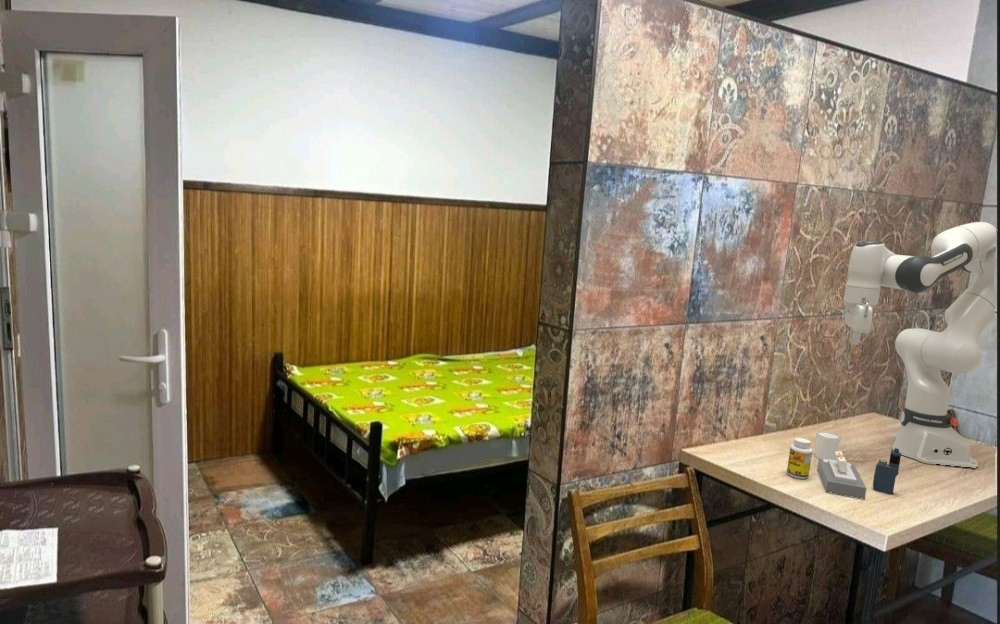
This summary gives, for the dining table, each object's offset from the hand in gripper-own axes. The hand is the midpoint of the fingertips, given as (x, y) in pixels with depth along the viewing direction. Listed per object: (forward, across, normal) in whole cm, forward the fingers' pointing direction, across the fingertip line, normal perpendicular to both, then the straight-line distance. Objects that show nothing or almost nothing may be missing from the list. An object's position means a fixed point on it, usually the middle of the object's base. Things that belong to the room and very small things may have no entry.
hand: (854, 344), depth 191 cm
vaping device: (+35, -21, -8) cm, 42 cm away
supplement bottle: (+35, -21, +12) cm, 43 cm away
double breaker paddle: (+31, -21, +2) cm, 37 cm away
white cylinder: (+35, 0, +3) cm, 35 cm away
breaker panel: (+35, -21, +2) cm, 41 cm away
